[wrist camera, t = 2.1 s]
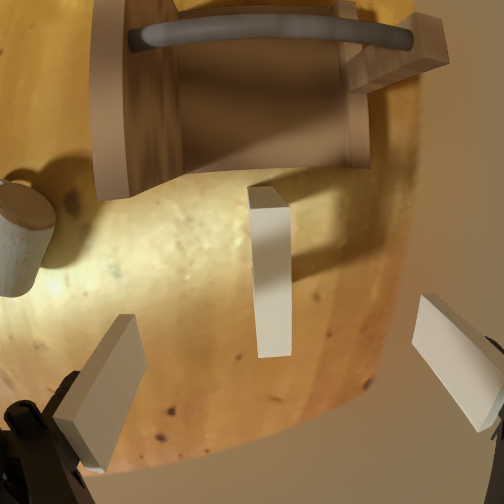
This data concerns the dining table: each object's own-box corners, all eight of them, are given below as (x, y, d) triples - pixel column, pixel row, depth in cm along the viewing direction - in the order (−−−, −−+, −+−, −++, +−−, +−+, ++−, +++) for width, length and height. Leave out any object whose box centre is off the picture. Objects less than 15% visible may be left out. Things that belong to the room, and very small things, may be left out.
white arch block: (247, 187, 25) (250, 209, 16) (271, 185, 25) (290, 207, 16) (252, 289, 28) (258, 358, 18) (275, 288, 28) (291, 355, 19)
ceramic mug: (74, 213, 25) (25, 235, 18) (46, 279, 27) (3, 312, 20) (7, 157, 23) (-45, 164, 16) (-15, 223, 25) (-61, 242, 18)
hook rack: (160, 20, 20) (101, -65, 7) (347, 15, 21) (419, -62, 8) (166, 175, 25) (92, 202, 12) (359, 166, 25) (459, 186, 12)
